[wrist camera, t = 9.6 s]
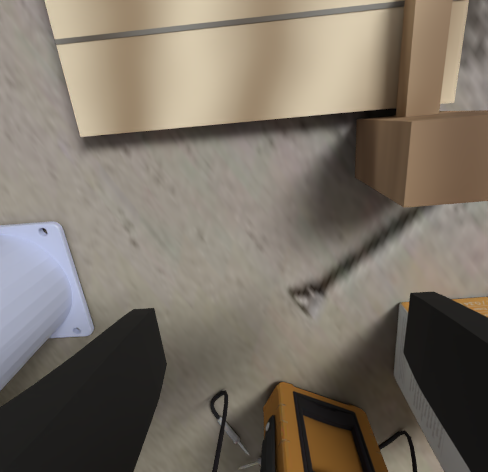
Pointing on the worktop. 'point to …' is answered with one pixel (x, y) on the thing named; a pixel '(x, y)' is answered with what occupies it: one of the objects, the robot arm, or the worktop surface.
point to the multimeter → (312, 435)
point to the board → (232, 59)
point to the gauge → (424, 125)
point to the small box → (417, 402)
